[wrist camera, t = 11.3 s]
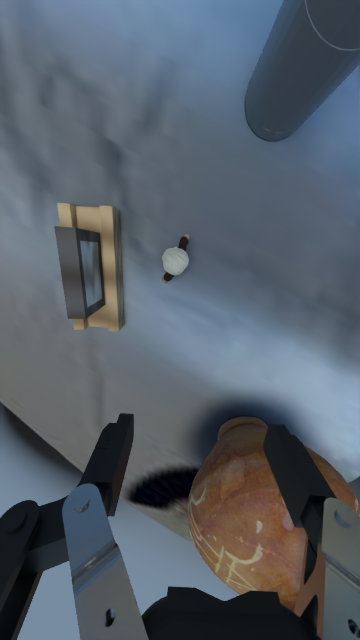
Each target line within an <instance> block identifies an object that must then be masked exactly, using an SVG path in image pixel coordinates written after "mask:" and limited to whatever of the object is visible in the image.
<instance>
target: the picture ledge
mask: <svg viewBox="0 0 360 640" xmlns="http://www.w3.org/2000/svg"><path fill="white" fill-rule="evenodd" d="M57 206H58V213H59V221H60V227H75V228H80V229H84V230H89V231H94V232H98V233H100V240H101V253H102V266H103V279H104V292H105V305H104V306H103V307H102V308H100V309H99V310H98V311H96V312H95V313H93V314H92V315H91V316H89V317H88V318H87V319H73V323H74V329H77V330H85V329H86V328H87V327H88V326H94V327H109V331H118V332H119V331H120V329H121V328H122V327H123V325H124V324H125V323H124V301H123V278H122V256H121V233H120V211H119V210H117V209H116V208H114V207H113V206H101V205H100V208H98V207H81V206H74V205H72V204H67V203H57Z"/></svg>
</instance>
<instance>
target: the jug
mask: <svg viewBox="0 0 360 640" xmlns="http://www.w3.org/2000/svg"><path fill="white" fill-rule="evenodd" d="M267 429H268V426H267V425H266V423H264V422H263V421H262V420H260V419H259V418H257V417H255V418H254V417H244V416H243V417H237V418H233V419H230V420H228V421H227V422H225V423H224V424H223V425H222V426H221V427H220V429H219V432H218V434H217V435H218V438H217V442H216V444H215V445H214V447H213V448H212V450H211V451H210V453H209V454H208V456H207V457H206V458H205V460H204V462H203V463H202V465H201V467H200V469H199V471H198V473H197V475H196V476H195V478H194V482H193V485H192V488H191V491H190V494H189V502H188V521H189V529H190V534H191V537H192V539H193V541H194V544H195V546H196V548H197V550H198V551H199V553H200V555H201V557H202V558H203V560H204V561H205V562H206V564H207V565H208V566H209V567H210V569H211V570H212V571H213V573H214V574H215V575H216V576H217V577H218V578H219V579H221V581H223V582H224V583H225V584H226V585H227V586H228V587H230V588H231V589H233V590H234V591H236V592H237V593H238V594H240V595H242V594H244V593H246V592H249V591H271V592H278V596H279V599H280V603H281V604H283V605H284V606H286V607H287V608H289V609H290V610H292V611H293V612H294V609H295V604H296V600H297V597H298V594H299V589H300V583H301V574H302V566H303V557H304V548H305V540H306V536H307V534H306V531H305V529H304V528H296V527H294V524H293V522H292V520H291V517H290V515H289V512H288V510H287V507H286V505H285V502H284V500H283V497H282V495H281V493H280V490H279V488H278V485H277V483H276V480H275V478H274V475H273V473H272V470H271V468H270V466H269V463H268V461H267V458H266V456H265V453H264V448H263V443H264V439H265V436H266V432H267ZM305 448H306V449H307V451H308V453H309V455H310V456H311V457H312V459H313V461H314V463H315V464H316V465H317V467H318V469H319V470H320V472H321V473H322V475H323V477H324V478H325V480H326V481H327V483H328V484H329V486H330V488H331V489H332V491H333V492H334V494H335V496H336V497H337V499H338V500H341V501H342V502H344V503H345V504H347V505H348V506H349V507H351V508H352V509H353V510H354V512H355V513H356V514H357V515H358V516H359V517H360V508H359V505H358V502H357V499H356V497H355V496H354V494H353V492H352V491H351V489H350V488H349V486H348V484H347V482H346V481H345V480H344V478H343V477H342V475H341V474H340V473H339V472H338V471H336V470H335V469H334V468H333V467H332V466H331V465H330V464H329V463H328V462H327V461H326V460H325V459H324V458H322V457H321V456H319V455H318V454H317V453H315V452H314V451H312V450H311V449H309V448H307V447H306V446H305Z"/></svg>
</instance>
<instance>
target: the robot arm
mask: <svg viewBox="0 0 360 640" xmlns="http://www.w3.org/2000/svg"><path fill="white" fill-rule="evenodd" d="M359 64H360V0H284V1H283V3H282V6H281V8H280V11H279V13H278V15H277V18H276V20H275V23H274V25H273V27H272V30H271V32H270V35H269V37H268V39H267V42H266V44H265V47H264V49H263V52H262V54H261V56H260V58H259V61H258V63H257V66H256V68H255V70H254V73H253V75H252V78H251V80H250V83H249V85H248V89H247V92H246V99H245V112H246V117H247V120H248V123H249V125H250V127H251V129H252V130H253V132H254V133H255V134H257V135H258V136H259V137H260V138H262V139H264V140H269V141H278V140H281V139H284V138H286V137H288V136H289V135H291V134H292V133H293V132H294V131H295V130H296V129H297V128H298V127H299V126H300V125H301V124H302V123H303V122H304V121H305V120H306V119H307V118H308V117H309V116H310V115H311V114H312V113H313V112H314V111H315V110H316V109H317V108H318V107H319V106H320V105H321V104H322V103H323V102H324V101H325V99H326V98H327V97H328V96H329V95H330V94H331V93H332V92H333V91H334V90H335V89H336V88H337V87H338V86H339V85H340V84H341V83H342V82H343V81H344V80H345V79H346V78H347V77H348V76H349V74H350V73H351V72H352V71H353V70H354V69H355V68H356V67H357V66H358V65H359ZM133 436H134V415H133V414H125V413H121V414H120V415H119V418H118V420H117V423H109V424H108V425H107V426H106V427H105V428H104V429H103V430H102V432H101V435H100V437H99V439H98V442H97V444H96V446H95V449H94V451H93V453H92V455H91V458H90V460H89V462H88V465H87V467H86V469H85V472H84V474H83V476H82V479H81V481H80V483H79V484H78V486H77V487H76V488H75V489H74V490H73V491H72V492H71V493H70V494H69V495H67V496H66V497H64V498H62V499H60V500H58V501H55V502H51V503H48V504H45V505H42V506H38V505H37V503H36V502H35V501H32V500H26V501H22V502H20V503H18V504H16V505H14V506H13V507H11V508H10V509H9V510H7V511H6V512H5V513H4V514H3V515H2V517H1V518H0V640H17V638H18V635H19V632H20V630H21V627H22V625H23V622H24V619H25V617H26V614H27V612H28V609H29V607H30V604H31V601H32V599H33V596H34V594H35V591H36V589H37V586H38V583H39V581H40V578H41V576H42V573H43V571H45V570H47V569H49V568H52V567H55V566H57V565H59V564H62V563H64V562H67V561H69V562H70V568H71V576H72V585H73V592H74V599H75V606H76V613H77V619H78V626H79V633H80V639H81V640H360V517H359V516H358V515H357V514H356V513H355V512H354V510H353V509H352V508H351V507H349V506H348V505H347V504H345V503H344V502H342V501H341V500H338V499H337V497H336V496H335V494H334V492H333V491H332V489H331V488H330V486H329V484H328V483H327V481H326V480H325V478H324V477H323V475H322V473H321V472H320V470H319V469H318V467H317V465H316V464H315V463H314V461H313V459H312V457H311V456H310V455H309V453H308V451H307V449H306V448H305V446H304V445H303V443H302V442H301V441H300V440H299V439H298V438H297V437H296V436H294V435H290V433H289V431H288V430H287V428H286V426H285V425H283V424H269V426H268V429H267V432H266V436H265V439H264V443H263V448H264V453H265V456H266V458H267V461H268V463H269V466H270V468H271V470H272V473H273V475H274V478H275V480H276V483H277V485H278V488H279V490H280V493H281V495H282V497H283V500H284V502H285V505H286V507H287V510H288V512H289V515H290V517H291V520H292V522H293V524H294V527H296V528H304V529H305V531H306V534H307V536H306V540H305V548H304V557H303V566H302V574H301V583H300V589H299V594H298V597H297V600H296V604H295V609H294V612H293V611H292V610H290V609H289V608H287V607H286V606H284V605H283V604H281V603H280V599H279V596H278V592H271V591H249V592H246V593H244V594H242V595H239V596H237V597H235V598H232V599H230V600H228V601H222V600H220V599H218V598H215V597H213V596H211V595H209V594H207V593H205V592H203V591H201V590H199V589H197V588H188V587H168V592H167V596H166V597H164V598H161V599H160V600H158V601H156V602H155V603H154V604H152V605H151V606H150V607H149V608H148V609H147V610H146V611H145V612H144V614H143V615H142V616H141V614H140V611H139V608H138V605H137V602H136V599H135V595H134V593H133V589H132V586H131V583H130V580H129V577H128V574H127V570H126V567H125V564H124V561H123V558H122V555H121V552H120V549H119V547H118V545H117V543H116V542H115V540H114V537H113V534H112V531H111V527H110V524H109V521H108V516H114V515H115V511H116V507H117V503H118V499H119V495H120V491H121V487H122V483H123V479H124V475H125V471H126V467H127V463H128V459H129V455H130V451H131V447H132V443H133Z"/></svg>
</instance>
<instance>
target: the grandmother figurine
mask: <svg viewBox="0 0 360 640" xmlns="http://www.w3.org/2000/svg"><path fill="white" fill-rule="evenodd" d="M189 239H190V236H189V235H188V234H185V235H184V236H183V237H182V238H181V239H180V243H179V247H178V248H177V246H176V247H174V248H169V249H167V250H166V251H165V253H164V254H163V256H162V260H163V266H164V269H165V270H166V271H167V272H166V274H165V275H164V277H163V278H162V281H163V282H164V283H167V282H168V281H170V280H171V279H172V278H173V277H174V276H175V275H180V274H181V273H182V272H183V271H184V270H185V268H186V267H187V266H188V264H189V258H188V255H187V253H186V246H187V244H188V241H189Z"/></svg>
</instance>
